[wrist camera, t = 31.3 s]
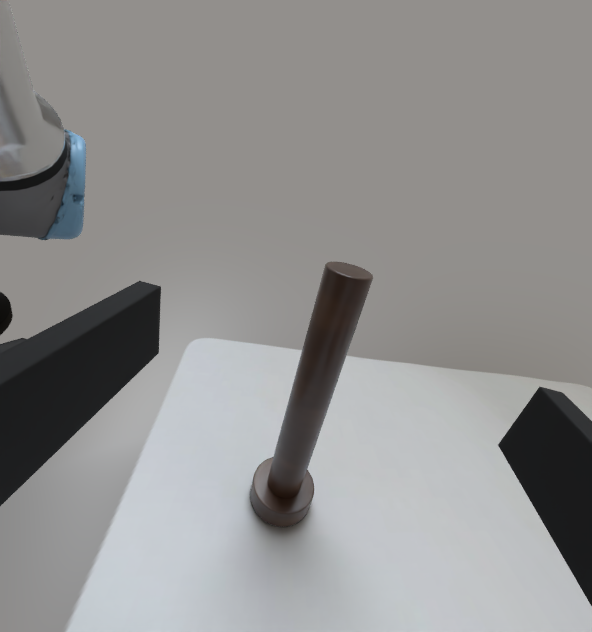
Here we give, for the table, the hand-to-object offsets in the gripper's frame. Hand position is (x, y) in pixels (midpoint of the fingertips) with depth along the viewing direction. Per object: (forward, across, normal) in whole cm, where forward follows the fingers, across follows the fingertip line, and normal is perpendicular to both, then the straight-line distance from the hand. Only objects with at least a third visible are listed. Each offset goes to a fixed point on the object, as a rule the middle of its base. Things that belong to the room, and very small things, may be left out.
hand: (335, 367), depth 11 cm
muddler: (+6, 0, -16) cm, 17 cm away
